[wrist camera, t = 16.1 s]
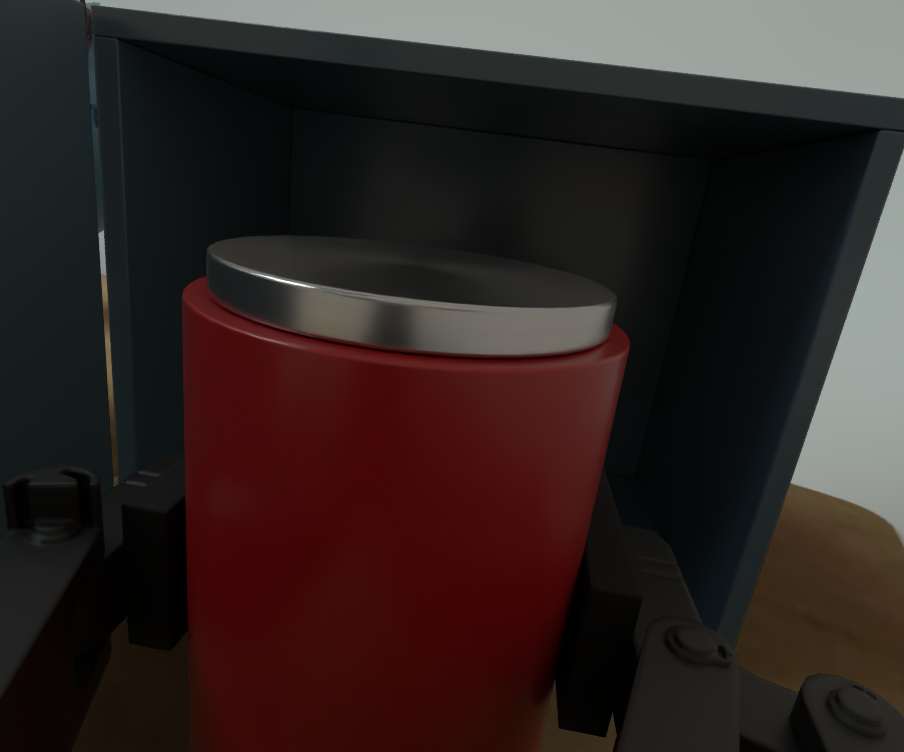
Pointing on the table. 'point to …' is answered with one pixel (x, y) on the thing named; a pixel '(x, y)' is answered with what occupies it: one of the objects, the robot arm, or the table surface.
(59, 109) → the fridge door
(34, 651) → the robot arm
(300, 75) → the fridge
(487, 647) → the can
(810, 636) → the table surface
